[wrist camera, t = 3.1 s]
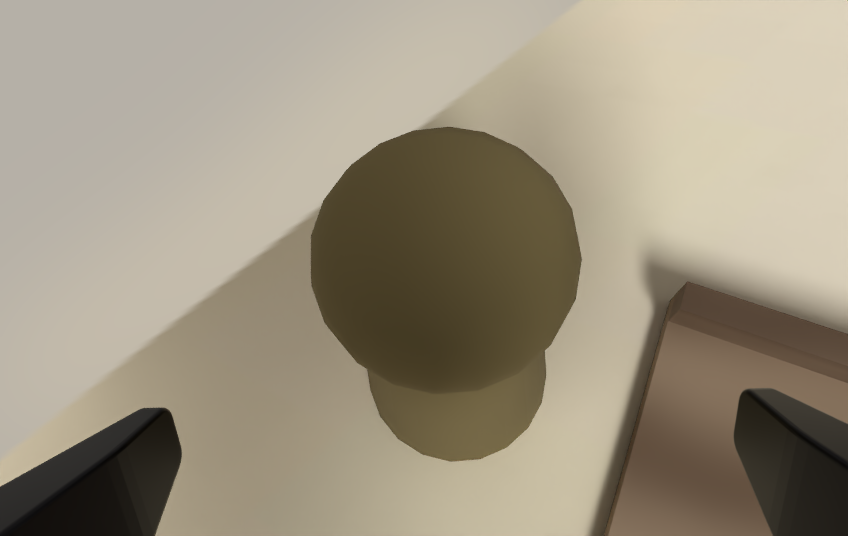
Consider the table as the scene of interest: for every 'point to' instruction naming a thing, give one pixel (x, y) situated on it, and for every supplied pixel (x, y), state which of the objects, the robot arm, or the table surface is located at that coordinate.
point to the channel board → (716, 412)
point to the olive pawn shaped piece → (448, 284)
